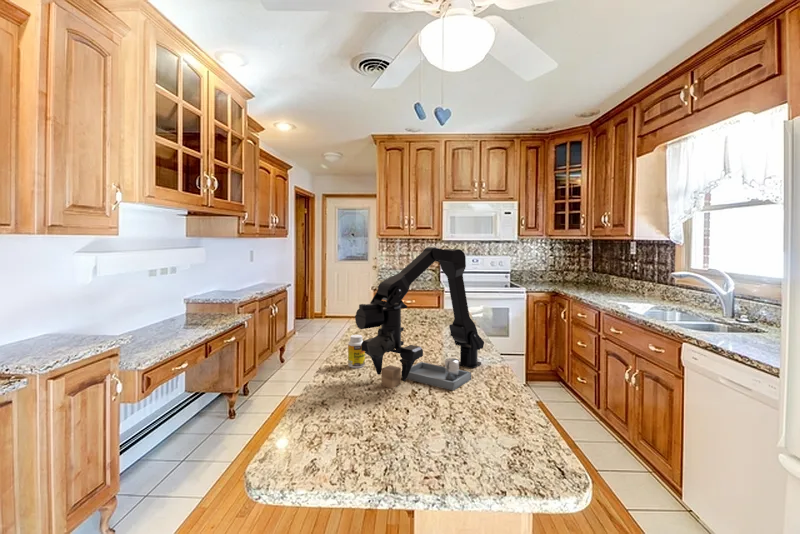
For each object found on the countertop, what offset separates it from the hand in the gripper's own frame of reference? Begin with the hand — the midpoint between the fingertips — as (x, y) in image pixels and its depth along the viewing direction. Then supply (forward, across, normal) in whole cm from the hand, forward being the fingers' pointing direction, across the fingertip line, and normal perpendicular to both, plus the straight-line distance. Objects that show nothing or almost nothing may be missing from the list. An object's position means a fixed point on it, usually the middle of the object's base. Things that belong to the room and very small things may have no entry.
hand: (391, 377), depth 116 cm
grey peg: (+2, +13, +12) cm, 18 cm away
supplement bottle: (+2, -20, +7) cm, 21 cm away
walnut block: (+2, 0, 0) cm, 2 cm away
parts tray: (+2, +8, +12) cm, 15 cm away
